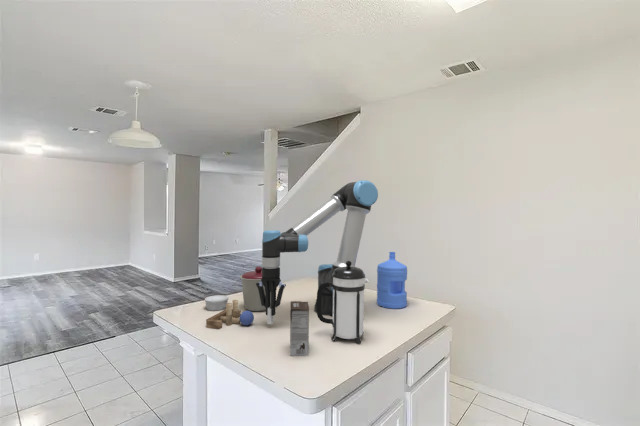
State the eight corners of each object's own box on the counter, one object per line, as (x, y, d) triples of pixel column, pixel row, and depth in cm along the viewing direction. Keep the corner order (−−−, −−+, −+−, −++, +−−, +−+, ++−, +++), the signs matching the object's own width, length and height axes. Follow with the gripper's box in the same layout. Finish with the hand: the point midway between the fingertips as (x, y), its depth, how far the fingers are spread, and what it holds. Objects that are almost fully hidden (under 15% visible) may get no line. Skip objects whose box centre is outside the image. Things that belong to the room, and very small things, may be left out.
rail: (240, 316, 147) (240, 309, 147) (219, 329, 130) (219, 322, 130) (227, 314, 148) (227, 308, 148) (204, 327, 132) (204, 320, 132)
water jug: (371, 305, 167) (371, 252, 167) (385, 299, 179) (386, 249, 179) (398, 311, 157) (398, 255, 157) (411, 304, 169) (412, 252, 169)
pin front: (240, 317, 138) (222, 315, 140) (238, 319, 136) (219, 317, 138) (241, 322, 138) (223, 320, 141) (238, 325, 136) (220, 322, 138)
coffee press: (352, 327, 134) (352, 256, 134) (374, 341, 120) (375, 262, 120) (315, 334, 126) (316, 259, 126) (335, 349, 112) (336, 265, 112)
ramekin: (200, 308, 158) (200, 297, 158) (220, 303, 167) (221, 293, 167) (211, 313, 151) (211, 302, 151) (232, 308, 159) (232, 297, 159)
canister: (271, 301, 171) (272, 263, 171) (280, 312, 154) (280, 268, 154) (237, 305, 164) (238, 264, 164) (242, 315, 147) (242, 270, 147)
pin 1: (232, 324, 137) (233, 303, 137) (229, 325, 134) (230, 304, 134) (227, 323, 137) (228, 302, 137) (224, 325, 135) (225, 304, 135)
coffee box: (290, 345, 116) (290, 301, 116) (307, 344, 116) (308, 300, 116) (289, 356, 107) (290, 308, 107) (308, 355, 107) (309, 308, 107)
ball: (242, 318, 140) (253, 324, 138) (235, 323, 134) (246, 330, 132) (246, 306, 139) (258, 312, 137) (239, 310, 133) (251, 317, 132)
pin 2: (238, 320, 141) (239, 300, 141) (236, 321, 139) (236, 301, 139) (234, 319, 142) (234, 299, 142) (231, 321, 140) (231, 301, 140)
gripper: (288, 266, 135) (288, 321, 135) (261, 264, 138) (260, 318, 139) (281, 269, 128) (281, 327, 128) (252, 267, 131) (252, 324, 131)
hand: (270, 322), depth 133 cm, fingers closed
